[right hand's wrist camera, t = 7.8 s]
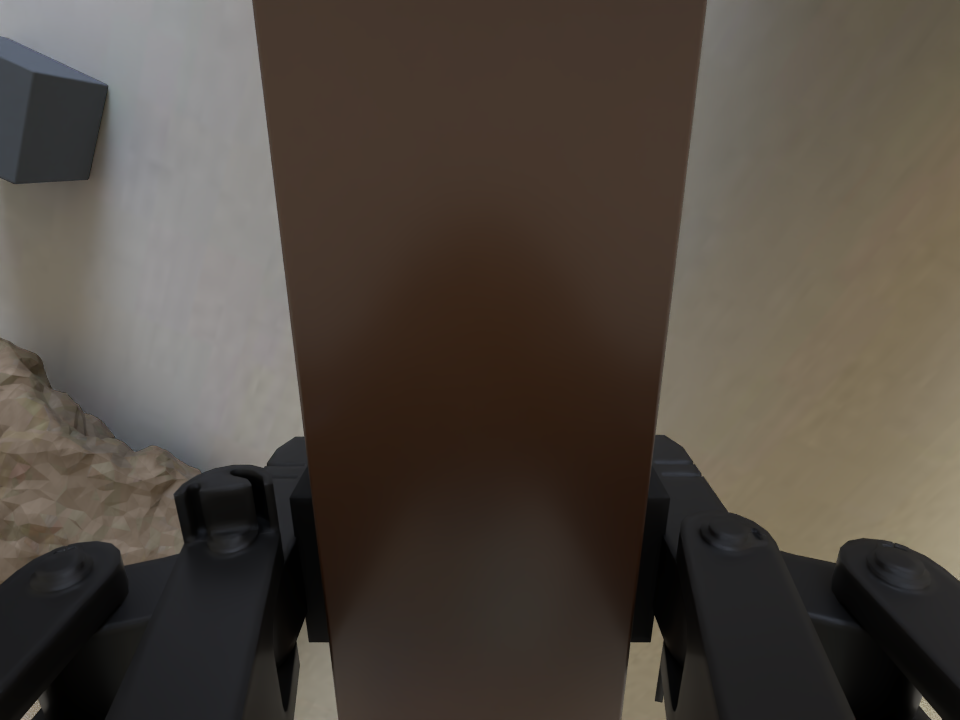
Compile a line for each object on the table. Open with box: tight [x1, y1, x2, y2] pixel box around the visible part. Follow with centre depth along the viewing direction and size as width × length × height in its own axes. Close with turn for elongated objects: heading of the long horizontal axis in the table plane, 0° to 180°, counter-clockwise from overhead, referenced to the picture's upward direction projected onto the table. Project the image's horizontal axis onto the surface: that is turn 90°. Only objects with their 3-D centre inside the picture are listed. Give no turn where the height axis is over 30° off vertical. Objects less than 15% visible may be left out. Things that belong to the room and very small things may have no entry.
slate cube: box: [0, 36, 108, 184], centre depth 23 cm, size 4×4×4 cm
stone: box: [0, 338, 201, 585], centre depth 30 cm, size 21×15×6 cm
